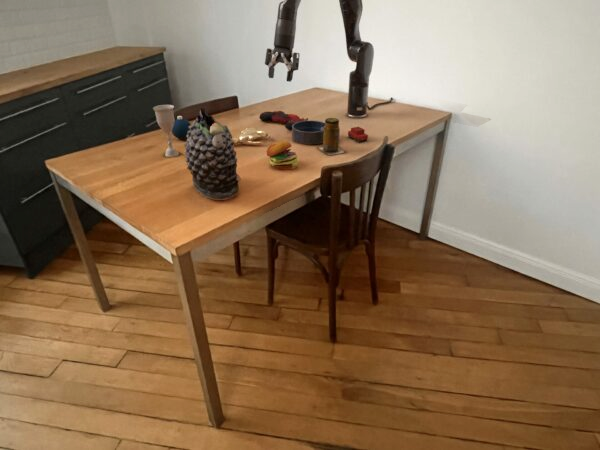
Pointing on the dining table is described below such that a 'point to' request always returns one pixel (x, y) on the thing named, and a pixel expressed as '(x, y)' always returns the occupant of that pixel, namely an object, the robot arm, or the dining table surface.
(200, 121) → the pinecone ceramic vase
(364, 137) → the toy car
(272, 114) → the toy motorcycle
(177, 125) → the christmas ornament
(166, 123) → the chalice
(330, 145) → the condiment
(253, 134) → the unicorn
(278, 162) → the cheeseburger
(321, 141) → the bowl
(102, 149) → the dining table surface
